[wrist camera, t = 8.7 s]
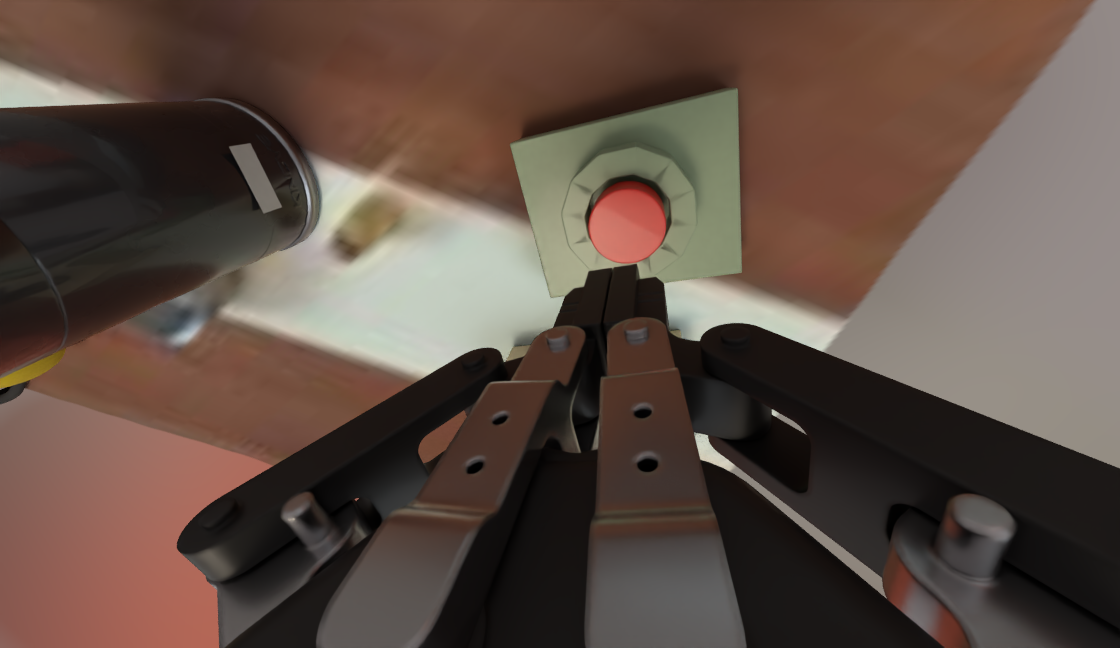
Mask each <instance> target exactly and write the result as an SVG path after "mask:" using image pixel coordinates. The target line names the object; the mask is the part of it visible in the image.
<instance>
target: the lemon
mask: <svg viewBox="0 0 1120 648" xmlns="http://www.w3.org/2000/svg"><path fill="white" fill-rule="evenodd" d="M65 350H66V348H65V349H63V350H60V351H58V352H56V353H54V354H53V355H50V356H48V357H46V358H44V359H42V360H40V361H37V362H35V363H33V364H31V365H29V366H26V367H24V368H22V369H20V370H18V371H16V372H13V373H11V374H9V375H7V376H5V377H2V378H0V388H4V387H9V386H13V385H16V384H20V383H23V382H26V381H28V380H31V379H33V378H35V377H37V376H39V375H41V374H43V373H45V372H46V371H48V370H49V369H51V368H52V367H53V366H55V365H56V364H57V363H58V362H59V361H60V360H61V359H62V357H63V355H64V353H65Z"/></svg>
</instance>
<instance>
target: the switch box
mask: <svg viewBox="0 0 1120 648" xmlns="http://www.w3.org/2000/svg"><path fill="white" fill-rule="evenodd" d="M510 147H511V150H512V154H513V158H514V162H515V166H516V169H517V173H518V177H519V181H520V184H521V188H522V192H523V196H524V199H525V203H526V207H527V211H528V214H529V218H530V222H531V226H532V230H533V233H534V237H535V241H536V245H537V248H538V252H539V256H540V260H541V263H542V267H543V271H544V275H545V278H546V282H547V286H548V290H549V294H550V297H551V298H553V297H561V296H566V295H567V294H568V293H569V292H570V291H572V290H573V289H574V288H578V287H584V285H585V281H586V278H587V275H588V272H589V271H592V270H599V269H606V268H612V269H613V268H614V267H619V266H626V265H632V264H637V265H638V269H639V276H640V279H643V278H650V277H657V278H658V279H659V280H661V281H662V282H663V283H667V282H674V281H682V280H689V279H697V278H704V277H712V276H720V275H727V274H735V273H741V272H742V256H741V212H740V168H739V124H738V89H737V88H724V89H720V90H716V91H712V92H708V93H704V94H700V95H696V96H692V97H688V98H684V99H679V100H675V101H671V102H667V103H663V104H659V105H655V106H651V107H647V108H643V109H639V110H635V111H631V112H627V113H623V114H619V115H615V116H610V117H606V118H602V119H598V120H594V121H590V122H586V123H582V124H578V125H574V126H570V127H566V128H562V129H558V130H554V131H550V132H545V133H541V134H537V135H533V136H529V137H525V138H521V139H519V140H517V141H514V142H512V143H510ZM622 181H637V182H641V183H644V184H646V185H648V186H649V187H651V188H652V189H653V190H654V191H655V192H656V193H657V194H658V195H659V197H660V198H661V200H662V202H663V205H664V210H665V216H666V232H665V236H664V239H663V241H662V243H661V245H660V246H659V248H658V249H657V250H656V251H655V252H654V253H653V254H652V255H651V256H649V257H648V258H646V259H644V260H642V261H639V262H636V263H629V264H622V263H617V262H613V261H611V260H609V259H607V258H605V257H604V256H602V255H601V254H600V253H599V252H598V251H597V250H596V248H595V247H594V245H593V244H592V242H591V239H590V236H589V231H588V223H589V218H590V214H591V212H592V209H593V207H594V205H595V202H596V200H597V199H598V197H599V196H600V194H601V193H602V192H603V191H604V190H606V189H607V188H608V187H610V186H611V185H613V184H616V183H618V182H622Z"/></svg>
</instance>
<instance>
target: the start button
mask: <svg viewBox="0 0 1120 648" xmlns="http://www.w3.org/2000/svg"><path fill="white" fill-rule="evenodd" d="M588 231H589V236H590V239H591V242H592V244H593V245H594V247H595V248H596V250H597V251H598V252H599V253H600V254H601V255H602V256H604V257H605V258H607V259H609V260H611V261H613V262H617V263H622V264H629V263H636V262H639V261H642V260H644V259H646V258H648V257H649V256H651V255H652V254H653V253H654V252H655V251H656V250H657V249H658V248H659V246H660V245H661V243H662V241H663V239H664V236H665V232H666V216H665V210H664V205H663V202H662V200H661V198H660V197H659V195H658V194H657V193H656V192H655V191H654V190H653V189H652V188H651V187H649V186H648V185H646V184H644V183H641V182H637V181H622V182H618V183H616V184H613V185H611V186H610V187H608V188H607V189H606V190H604V191H603V192H602V193H601V194H600V196H599V197H598V199H597V200H596V202H595V205H594V207H593V209H592V212H591V214H590V218H589V223H588Z"/></svg>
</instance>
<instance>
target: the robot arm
mask: <svg viewBox="0 0 1120 648" xmlns="http://www.w3.org/2000/svg"><path fill="white" fill-rule="evenodd" d="M318 214H319V196H318V190H317V185H316V182H315V178H314V176H313V173H312V170H311V168H310V166H309V164H308V162H307V160H306V158H305V156H304V155H303V153H302V151H301V150H300V148H299V147H298V146H297V144H296V143H295V141H294V140H293V139H292V138H291V136H290V135H289V134H288V133H287V132H286V131H285V130H284V129H283V128H282V127H281V126H280V125H279V124H278V123H277V122H276V121H274V120H273V119H272V118H271V117H270V116H268V115H267V114H265V113H264V112H262V111H261V110H259V109H257V108H256V107H254V106H252V105H250V104H247V103H245V102H242V101H239V100H235V99H230V98H205V99H198V100H194V101H183V102H144V103H119V104H94V105H69V106H44V107H18V108H0V378H2V377H5V376H7V375H9V374H11V373H13V372H16V371H18V370H20V369H22V368H24V367H26V366H29V365H31V364H33V363H35V362H37V361H40V360H42V359H44V358H46V357H48V356H50V355H53V354H54V353H56V352H58V351H60V350H63V349H65V348H67V347H69V346H71V345H74V344H76V343H78V342H80V341H82V340H84V339H87V338H89V337H91V336H93V335H95V334H98V333H100V332H102V331H104V330H106V329H109V328H111V327H113V326H115V325H117V324H119V323H122V322H124V321H126V320H128V319H130V318H133V317H135V316H137V315H139V314H141V313H143V312H146V311H148V310H150V309H152V308H154V307H157V306H159V305H161V304H163V303H165V302H168V301H170V300H172V299H174V298H176V297H178V296H181V295H183V294H185V293H187V292H189V291H192V290H194V289H196V288H198V287H200V286H202V285H205V284H207V283H209V282H211V281H213V280H216V279H218V278H220V277H222V276H224V275H227V274H229V273H231V272H233V271H235V270H237V269H240V268H242V267H244V266H246V265H248V264H251V263H253V262H256V261H258V260H260V259H262V258H264V257H266V256H269V255H271V254H273V253H275V252H277V251H282V250H285V249H288V248H290V247H292V246H294V245H296V244H299V243H300V242H302V241H304V240H305V239H306V238H307V237H308V236H309V235H310V234H311V232H312V231H313V229H314V227H315V225H316V222H317V219H318ZM25 384H26V382H23V383H20V384H16V385H13V386H9V387H6V388H3V389H1V390H0V404H3V403H6V402H8V401H11V400H13V399H15V398H16V397H18V396H19V395H20V394H21V393H22V392H23V390H24V387H25ZM772 409H773V410H775V411H777V412H778V413H780V414H782V415H784V416H785V417H787V418H789V419H791V420H793V421H794V422H795V423H797V424H798V425H799V426H800V427H801V428H802V429H803V430H804V431H805V433H806V434H807V435H806V434H804V433H802V432H801V431H799V430H797V429H795V428H793V427H792V426H790V425H789V424H787V423H785V422H783V421H781V420H780V419H778V418H777V417H775V416H773V415H772ZM463 410H464V411H465V413H466V415H467V417H466V419H465V420H464V422H463V424H462V425H461V427H460V428H459V430H458V431H457V433H456V435H455V436H454V438H453V439H452V441H451V442H450V444H449V446H448V447H447V449H446V450H445V451H444V452H442V453H441V454H439V455H438V456H437V457H435V458H434V459H432V460H431V461H429V462H427V463H423V462H422V460H421V458H420V456H419V454H418V448H419V444H420V442H421V441H422V439H423V438H424V437H425V436H426V435H427V434H429V433H430V432H432V431H433V430H435V429H436V428H438V427H439V426H441V425H442V424H444V423H445V422H447V421H448V420H450V419H451V418H453V417H454V416H456V415H457V414H459V413H460V412H462V411H463ZM694 432H696V433H700V434H705V435H708V439H709V442H710V444H711V445H712V447H713V448H714V449H715V450H716V451H717V452H719V453H720V454H721V455H723V456H724V457H725V458H726V459H728V460H729V461H730V462H732V463H733V464H734V465H736V466H737V467H738V468H740V469H741V470H742V471H743V472H745V473H746V474H747V475H749V476H750V477H751V478H753V479H754V480H755V481H757V482H758V483H759V484H761V485H762V486H763V487H764V488H766V489H767V490H768V491H770V492H771V493H772V494H773V495H775V496H776V497H777V498H779V499H780V500H781V501H783V502H784V503H785V504H787V505H788V506H789V507H791V508H792V509H793V510H794V511H796V512H797V513H798V514H799V515H801V516H802V517H803V518H805V519H806V520H807V521H809V522H810V523H811V524H813V525H814V526H815V527H816V528H818V529H819V530H820V531H822V532H823V533H824V534H826V535H827V536H828V537H829V538H831V539H832V540H833V541H835V542H836V543H837V544H839V545H840V546H841V547H843V548H844V549H845V550H846V551H848V552H849V553H850V554H852V555H853V556H854V557H856V558H857V559H858V560H860V561H861V562H862V563H863V564H865V565H866V566H868V567H869V568H870V569H871V570H873V571H874V572H875V573H876V574H878V575H879V576H880V577H882V582H883V589H884V592H885V595H886V597H887V599H886V598H885V597H884V596H882V595H881V594H880V593H879V592H878V591H877V590H875V589H874V588H873V587H872V586H871V585H869V584H868V583H867V582H866V581H864V580H863V579H862V578H861V577H860V576H859V575H857V574H856V573H855V572H854V571H852V570H851V569H850V568H849V567H848V566H846V565H845V564H844V563H843V562H842V561H841V560H839V559H838V558H837V557H836V556H835V555H833V554H832V553H831V552H830V551H829V550H828V549H826V548H825V547H824V546H823V545H821V544H820V543H819V542H818V541H817V540H816V539H814V538H813V537H812V536H810V535H809V534H808V533H807V532H806V531H805V530H804V529H802V528H801V527H800V526H799V525H798V524H796V523H795V522H794V521H793V520H792V519H790V518H789V517H788V516H787V515H786V514H784V513H783V512H782V511H781V510H780V509H778V508H777V507H776V506H775V505H774V504H772V503H771V502H770V501H769V500H768V499H766V498H765V497H764V496H763V495H762V494H760V493H759V492H758V491H757V490H756V489H754V488H753V487H752V486H751V485H749V484H748V483H747V482H745V481H744V480H742V479H741V478H739V477H738V476H736V475H735V474H733V473H731V472H729V471H727V470H725V469H724V468H722V467H719V466H717V465H714V464H712V463H709V462H706V461H702V460H700V457H699V453H698V449H697V445H696V440H695V436H694ZM356 498H359V499H358V500H357V501H355V499H356ZM177 549H178V551H179V552H180V553H182V554H183V555H184V556H185V557H186V558H187V559H188V560H189V561H190V562H191V563H192V564H194V565H195V566H196V567H197V568H198V569H199V570H200V571H201V572H202V573H203V574H204V575H205V576H206V579H207V581H208V582H209V583H210V584H211V585H212V586H213V587H214V588H215V589H217V597H218V625H219V648H1120V468H1117V467H1115V466H1112V465H1109V464H1107V463H1104V462H1102V461H1099V460H1097V459H1094V458H1092V457H1089V456H1086V455H1084V454H1081V453H1079V452H1076V451H1074V450H1071V449H1069V448H1066V447H1063V446H1061V445H1058V444H1056V443H1053V442H1051V441H1048V440H1046V439H1043V438H1041V437H1038V436H1035V435H1033V434H1030V433H1028V432H1025V431H1023V430H1020V429H1018V428H1015V427H1012V426H1010V425H1007V424H1005V423H1002V422H1000V421H997V420H995V419H992V418H990V417H987V416H984V415H982V414H979V413H977V412H974V411H972V410H969V409H967V408H964V407H962V406H959V405H957V404H954V403H951V402H949V401H946V400H944V399H941V398H939V397H936V396H934V395H931V394H929V393H926V392H923V391H921V390H918V389H916V388H913V387H911V386H908V385H906V384H903V383H900V382H898V381H895V380H893V379H890V378H888V377H885V376H883V375H880V374H877V373H875V372H872V371H870V370H867V369H865V368H862V367H859V366H857V365H854V364H852V363H849V362H847V361H844V360H842V359H839V358H837V357H834V356H832V355H829V354H826V353H824V352H821V351H819V350H816V349H814V348H811V347H809V346H806V345H804V344H801V343H799V342H796V341H793V340H791V339H788V338H786V337H783V336H781V335H778V334H776V333H773V332H771V331H768V330H765V329H763V328H760V327H758V326H754V325H750V324H743V323H730V324H724V325H719V326H716V327H713V328H711V329H709V330H708V331H706V332H705V333H704V334H703V335H702V337H701V339H700V341H692V340H686V339H682V338H679V337H677V336H675V335H673V334H672V333H671V332H670V331H669V323H668V314H667V306H666V298H665V290H664V283H663V282H662V281H661V280H659V279H658V278H657V277H650V278H643V279H640V276H639V269H638V265H637V264H632V265H626V266H619V267H614V268H613V269H612V268H606V269H599V270H592V271H589V272H588V275H587V278H586V281H585V285H584V287H578V288H574V289H573V290H572V291H570V292H569V293H568V294H567V295H566V296H565V298H564V301H563V303H562V306H561V309H560V313H559V314H558V316H557V319H556V322H555V324H554V327H553V328H551V329H549V330H546V331H544V332H543V333H541V334H539V335H538V336H537V337H536V338H535V339H534V340H533V342H532V344H531V345H530V347H529V349H528V351H527V353H526V354H525V356H523V357H520V358H516V359H513V360H509V361H506V362H504V361H503V358H502V355H501V353H500V352H499V351H498V350H497V349H494V348H481V349H476V350H473V351H470V352H468V353H465V354H464V355H462V356H460V357H458V358H457V359H455V360H453V361H451V362H450V363H448V364H446V365H445V366H443V367H441V368H440V369H438V370H436V371H434V372H433V373H431V374H429V375H428V376H426V377H424V378H422V379H421V380H419V381H417V382H416V383H414V384H412V385H411V386H409V387H407V388H405V389H404V390H402V391H400V392H399V393H397V394H395V395H394V396H392V397H390V398H388V399H387V400H385V401H383V402H382V403H380V404H378V405H376V406H375V407H373V408H371V409H370V410H368V411H366V412H365V413H363V414H361V415H359V416H358V417H356V418H354V419H353V420H351V421H349V422H348V423H346V424H344V425H342V426H341V427H339V428H337V429H336V430H334V431H332V432H330V433H329V434H327V435H325V436H324V437H322V438H320V439H319V440H317V441H315V442H313V443H312V444H310V445H308V446H307V447H305V448H303V449H302V450H300V451H298V452H296V453H295V454H293V455H291V456H290V457H288V458H286V459H284V460H283V461H281V462H279V463H278V464H276V465H274V466H273V467H271V468H269V469H268V470H266V471H264V472H262V473H261V474H259V475H257V476H255V477H254V478H252V479H250V480H249V481H247V482H245V483H244V484H242V485H240V486H239V487H237V488H235V489H234V490H232V491H230V492H228V493H227V494H225V495H223V496H222V497H220V498H218V499H217V500H215V501H214V502H212V503H211V504H209V505H208V506H207V507H205V508H204V509H203V510H202V511H201V512H199V513H198V514H197V515H196V516H195V517H194V518H193V519H192V520H191V521H190V522H189V523H188V525H187V526H186V527H185V528H184V530H183V531H182V533H181V535H180V536H179V539H178V542H177Z"/></svg>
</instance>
